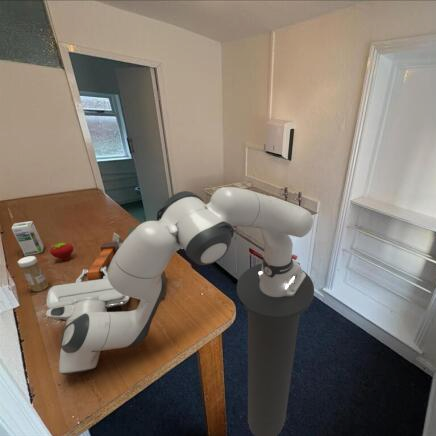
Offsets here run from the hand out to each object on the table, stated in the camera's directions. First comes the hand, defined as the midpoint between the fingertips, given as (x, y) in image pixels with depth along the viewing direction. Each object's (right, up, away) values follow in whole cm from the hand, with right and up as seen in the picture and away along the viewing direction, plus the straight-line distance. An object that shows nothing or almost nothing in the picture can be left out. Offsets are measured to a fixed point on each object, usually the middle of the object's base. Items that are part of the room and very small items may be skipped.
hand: (95, 268), depth 76 cm
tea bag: (-18, 0, +37) cm, 41 cm away
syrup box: (-55, +1, +32) cm, 64 cm away
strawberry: (-38, -2, +29) cm, 47 cm away
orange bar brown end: (-3, 0, +7) cm, 8 cm away
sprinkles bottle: (-32, -10, +13) cm, 36 cm away
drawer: (-4, -12, +14) cm, 19 cm away
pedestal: (+10, -12, +16) cm, 22 cm away
